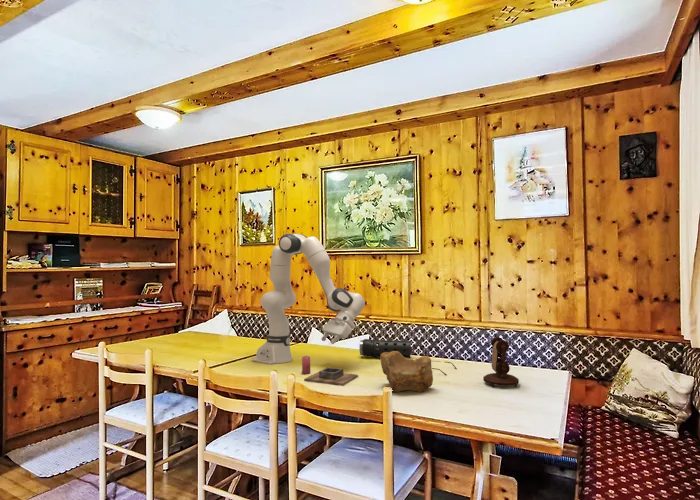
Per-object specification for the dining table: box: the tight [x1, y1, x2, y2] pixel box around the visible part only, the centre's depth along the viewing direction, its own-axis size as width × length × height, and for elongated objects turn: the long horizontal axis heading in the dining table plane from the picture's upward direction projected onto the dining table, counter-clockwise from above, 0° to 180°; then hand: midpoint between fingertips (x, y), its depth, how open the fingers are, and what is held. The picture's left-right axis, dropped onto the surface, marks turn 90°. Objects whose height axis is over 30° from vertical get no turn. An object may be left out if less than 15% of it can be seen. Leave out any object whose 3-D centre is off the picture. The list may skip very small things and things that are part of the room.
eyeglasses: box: [431, 360, 458, 376], centre depth 220 cm, size 16×19×5 cm
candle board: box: [303, 367, 359, 387], centre depth 206 cm, size 20×16×4 cm
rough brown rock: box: [379, 351, 434, 393], centre depth 187 cm, size 23×17×15 cm
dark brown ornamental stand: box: [482, 336, 520, 388], centre depth 194 cm, size 15×15×20 cm
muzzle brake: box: [359, 338, 412, 359], centre depth 247 cm, size 10×28×10 cm, turn 78°
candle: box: [301, 355, 311, 375], centre depth 216 cm, size 4×4×9 cm
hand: (327, 341), depth 223 cm, fingers open, 8 cm apart
